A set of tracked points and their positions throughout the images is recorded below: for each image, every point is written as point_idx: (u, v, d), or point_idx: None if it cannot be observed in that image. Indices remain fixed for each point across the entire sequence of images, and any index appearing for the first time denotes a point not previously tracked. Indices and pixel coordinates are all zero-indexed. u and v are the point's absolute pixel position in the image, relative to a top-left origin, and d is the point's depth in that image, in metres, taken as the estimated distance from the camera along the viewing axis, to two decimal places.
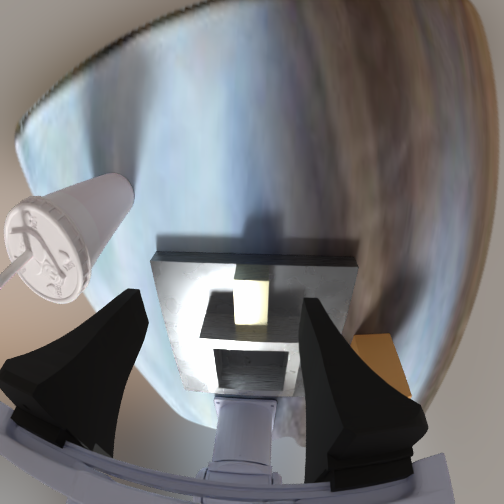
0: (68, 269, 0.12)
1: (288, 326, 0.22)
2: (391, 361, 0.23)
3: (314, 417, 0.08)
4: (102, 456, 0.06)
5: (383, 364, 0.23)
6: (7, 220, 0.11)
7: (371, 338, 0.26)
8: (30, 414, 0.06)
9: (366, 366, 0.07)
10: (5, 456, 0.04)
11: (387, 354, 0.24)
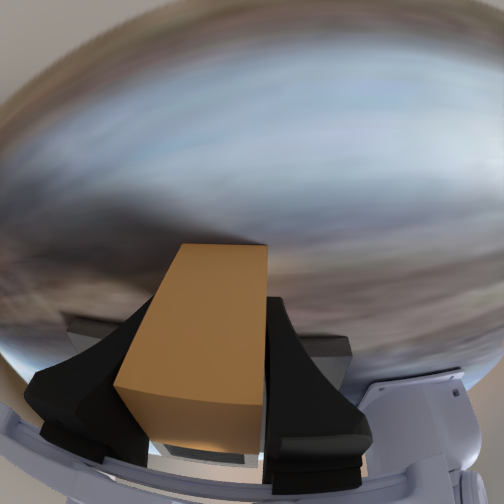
0: None
1: None
2: None
3: (266, 417, 0.08)
4: (102, 456, 0.06)
5: None
6: None
7: None
8: (62, 429, 0.06)
9: (315, 369, 0.07)
10: (5, 456, 0.04)
11: None
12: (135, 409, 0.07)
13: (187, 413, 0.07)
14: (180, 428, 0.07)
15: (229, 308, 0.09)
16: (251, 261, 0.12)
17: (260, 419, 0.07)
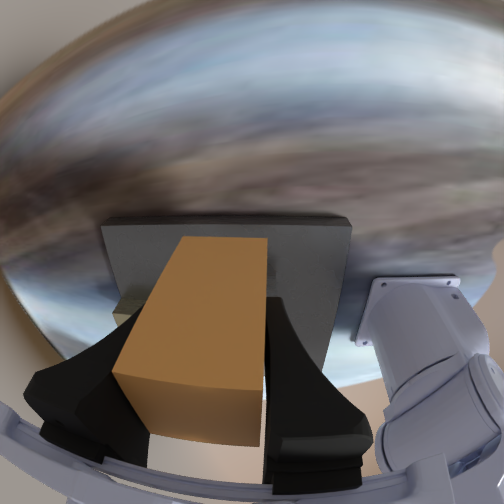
0: None
1: None
2: None
3: None
4: (102, 456, 0.06)
5: None
6: None
7: None
8: (62, 429, 0.06)
9: (315, 369, 0.07)
10: (5, 456, 0.04)
11: None
12: (134, 398, 0.07)
13: (186, 400, 0.07)
14: (179, 417, 0.07)
15: (229, 296, 0.09)
16: (251, 252, 0.12)
17: (260, 406, 0.07)
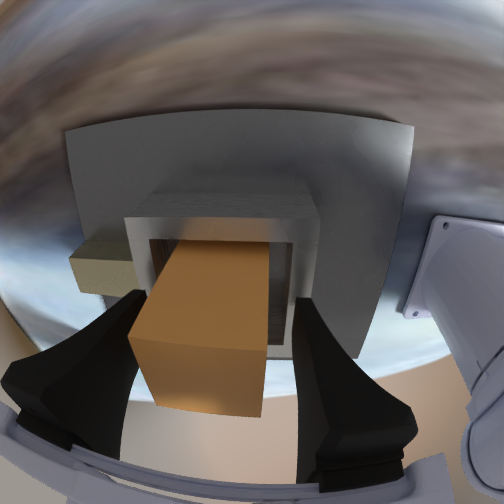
0: None
1: None
2: None
3: (305, 417, 0.08)
4: (102, 456, 0.06)
5: None
6: None
7: None
8: (36, 417, 0.06)
9: (356, 367, 0.07)
10: (5, 456, 0.04)
11: None
12: (146, 365, 0.08)
13: (196, 363, 0.08)
14: (187, 384, 0.08)
15: (235, 273, 0.10)
16: None
17: (264, 369, 0.08)
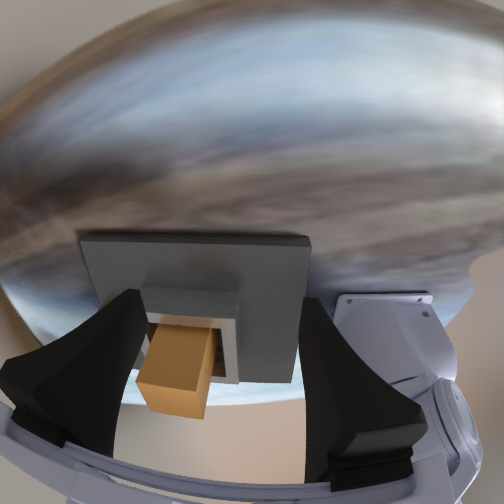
0: None
1: None
2: None
3: (314, 417, 0.08)
4: (102, 456, 0.06)
5: None
6: None
7: None
8: (30, 414, 0.06)
9: (366, 366, 0.07)
10: (5, 456, 0.04)
11: None
12: (144, 392, 0.16)
13: (166, 394, 0.16)
14: (164, 402, 0.17)
15: (188, 346, 0.19)
16: None
17: (196, 398, 0.16)
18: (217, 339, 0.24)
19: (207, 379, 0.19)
